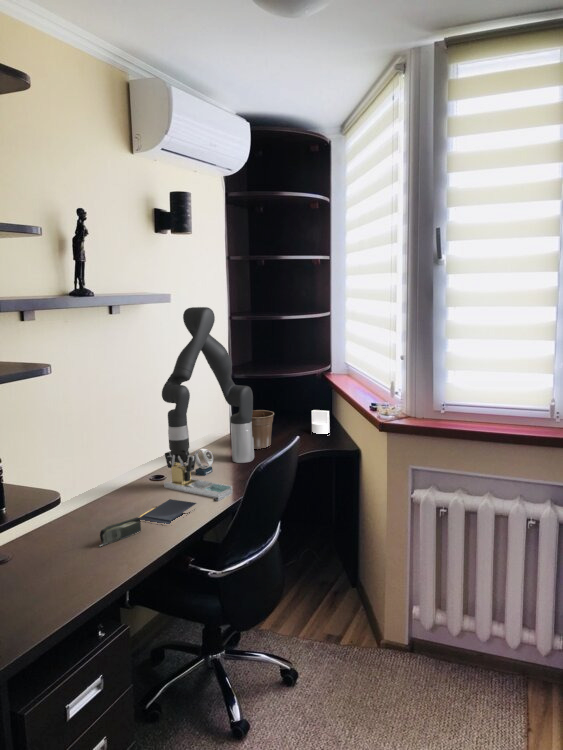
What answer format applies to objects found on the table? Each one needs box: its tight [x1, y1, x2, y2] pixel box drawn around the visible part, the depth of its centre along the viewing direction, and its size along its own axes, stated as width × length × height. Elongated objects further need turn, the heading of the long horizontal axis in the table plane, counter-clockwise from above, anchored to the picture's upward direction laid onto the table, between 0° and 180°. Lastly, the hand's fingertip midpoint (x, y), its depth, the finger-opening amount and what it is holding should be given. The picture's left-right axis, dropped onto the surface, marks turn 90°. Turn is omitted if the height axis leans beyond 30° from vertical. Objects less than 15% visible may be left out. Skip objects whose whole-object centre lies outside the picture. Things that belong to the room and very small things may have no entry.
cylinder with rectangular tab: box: [311, 409, 331, 434], centre depth 293 cm, size 9×9×12 cm
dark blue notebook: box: [138, 498, 197, 524], centre depth 198 cm, size 20×2×15 cm
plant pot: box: [252, 409, 275, 450], centre depth 274 cm, size 16×16×16 cm
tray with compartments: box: [163, 477, 233, 502], centre depth 216 cm, size 8×26×3 cm, turn 58°
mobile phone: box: [98, 516, 142, 548], centre depth 178 cm, size 5×3×15 cm
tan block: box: [170, 463, 192, 485], centre depth 220 cm, size 5×5×7 cm
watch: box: [193, 448, 214, 477], centre depth 234 cm, size 6×8×11 cm
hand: (181, 479), depth 220 cm, fingers closed on tan block, 5 cm apart
